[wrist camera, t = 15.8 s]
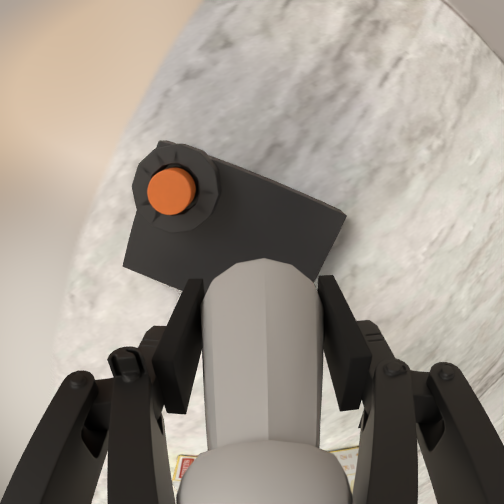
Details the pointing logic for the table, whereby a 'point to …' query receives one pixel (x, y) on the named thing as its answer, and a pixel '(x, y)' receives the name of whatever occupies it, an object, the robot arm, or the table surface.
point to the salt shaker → (263, 393)
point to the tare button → (171, 191)
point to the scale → (224, 222)
